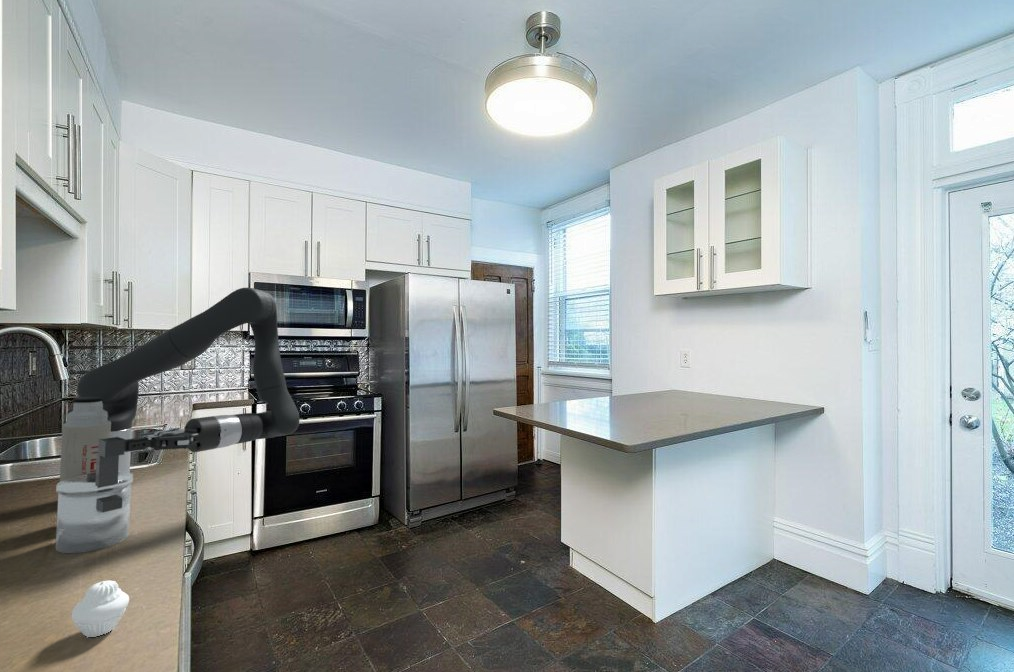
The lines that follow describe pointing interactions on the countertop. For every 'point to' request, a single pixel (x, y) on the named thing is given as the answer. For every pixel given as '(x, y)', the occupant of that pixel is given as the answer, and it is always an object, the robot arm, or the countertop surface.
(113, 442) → the cooker lid
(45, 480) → the countertop surface
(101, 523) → the cooker pot
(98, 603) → the muffin
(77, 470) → the thermos bottle
